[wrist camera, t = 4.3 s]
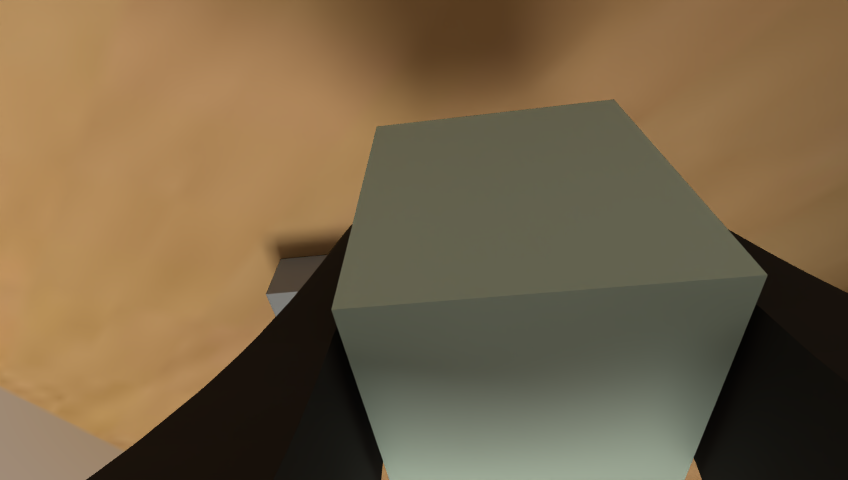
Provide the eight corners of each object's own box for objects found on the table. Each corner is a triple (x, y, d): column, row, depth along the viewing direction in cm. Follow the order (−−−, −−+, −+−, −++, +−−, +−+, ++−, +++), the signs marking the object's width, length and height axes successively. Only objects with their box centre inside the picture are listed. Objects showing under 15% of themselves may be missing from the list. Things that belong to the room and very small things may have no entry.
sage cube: (614, 99, 9) (767, 274, 5) (593, 279, 11) (680, 491, 7) (376, 126, 9) (331, 309, 5) (410, 294, 12) (396, 502, 8)
